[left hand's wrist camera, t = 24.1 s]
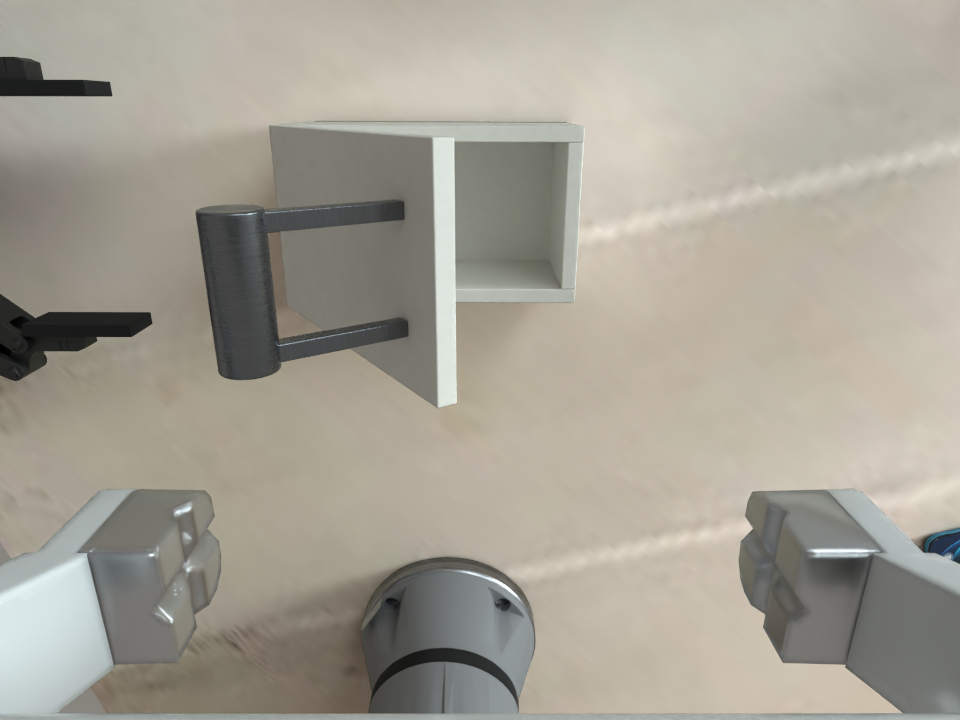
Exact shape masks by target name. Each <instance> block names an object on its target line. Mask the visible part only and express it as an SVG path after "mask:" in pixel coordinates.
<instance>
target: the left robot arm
mask: <svg viewBox="0 0 960 720" xmlns="http://www.w3.org/2000/svg"><path fill="white" fill-rule="evenodd" d="M214 516H215V515H214V510H213V505H212V500H211V496H210V495H209V494H208V493H207V492H206V491H204V490H153V489H140V490H137V489H106V490H101V491H98V492H97V493H96V494H95V495H94V496H93V497H92V498H91V499H90V500H89V501H88V502H87V503H86V504H85V505H84V506H83V507H82V508H81V509H80V510H79V511H78V512H77V513H76V514H75V515H74V516H73V517H72V518H71V519H70V520H69V521H68V522H67V523H66V524H65V525H64V526H63V527H62V528H61V529H60V530H59V531H58V532H57V533H56V534H55V535H54V536H53V537H52V538H51V539H50V540H49V541H48V542H47V543H46V544H45V545H44V546H43V547H42V548H41V549H40V550H39V551H38V552H37V553H24V554H22V555H20V556H17V557H15V558H13V559H11V560H8V561H6V562H4V563H2V564H0V720H960V564H958V563H956V562H954V561H952V560H949V559H947V558H945V557H943V556H941V555H938V554H936V553H923V552H922V551H921V550H920V549H919V548H918V547H917V546H916V545H915V544H914V543H913V542H912V541H911V540H910V539H909V538H908V537H907V536H906V535H905V534H904V533H903V532H902V531H901V530H900V529H899V528H898V527H897V526H896V525H895V524H894V523H893V522H892V521H891V520H890V519H889V518H888V517H887V516H886V515H885V514H884V513H883V512H882V511H881V510H880V509H879V508H878V507H877V506H876V505H875V504H874V503H873V502H872V501H871V500H870V499H869V498H868V497H867V496H866V495H865V494H864V493H863V492H861V491H859V490H856V489H828V490H794V491H758V492H752V494H751V496H750V498H749V500H748V503H747V509H746V514H745V516H746V518H747V520H748V521H749V523H750V524H751V526H752V527H753V529H752V530H751V532H750V533H749V534H748V535H747V536H746V537H745V538H744V539H743V540H742V541H741V546H740V554H739V569H740V579H741V582H742V586H743V589H744V592H745V594H746V596H747V598H748V600H749V602H750V604H751V605H752V606H754V607H755V608H757V609H758V610H760V611H761V612H763V613H764V614H765V620H764V626H763V628H764V630H765V631H766V633H767V635H768V637H769V639H770V640H771V642H772V644H773V646H774V648H775V649H776V651H777V653H778V655H779V657H780V658H781V660H782V662H783V663H808V664H844V665H846V668H847V669H848V670H849V671H851V672H852V673H853V674H854V675H856V676H857V677H858V678H859V679H861V680H862V681H863V682H865V683H866V684H867V685H868V686H870V687H871V688H872V689H873V690H875V691H876V692H877V693H878V694H880V695H881V696H882V697H884V698H885V699H886V700H887V701H889V702H890V703H891V704H892V705H894V706H895V707H896V708H897V709H899V710H900V711H901V712H903V713H800V714H102V713H101V714H100V713H97V714H95V713H94V714H92V713H87V714H86V713H85V714H84V713H83V714H81V713H79V714H78V713H77V714H75V713H66V714H65V713H62V714H59V713H58V712H59V711H60V710H61V709H63V708H64V707H65V706H67V705H68V704H69V703H70V702H72V701H73V700H74V699H75V698H77V697H78V696H79V695H80V694H82V693H83V692H84V691H86V690H87V689H88V688H89V687H91V686H92V685H93V684H94V683H96V682H97V681H98V680H100V679H101V678H102V677H103V676H105V675H106V674H107V673H108V672H110V671H111V670H112V669H114V665H116V664H151V663H177V662H178V660H179V659H180V657H181V655H182V653H183V651H184V649H185V648H186V646H187V644H188V642H189V640H190V639H191V637H192V635H193V633H194V631H195V630H196V628H197V626H196V620H195V614H196V613H197V612H199V611H200V610H202V609H203V608H205V607H206V606H208V605H209V604H210V602H211V600H212V598H213V596H214V594H215V592H216V590H217V585H218V581H219V577H220V573H221V552H220V545H219V541H218V540H217V539H216V538H215V537H214V536H213V535H212V534H211V533H210V532H209V530H208V529H207V527H208V526H209V524H210V523H211V521H212V520H213V518H214Z"/></svg>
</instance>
